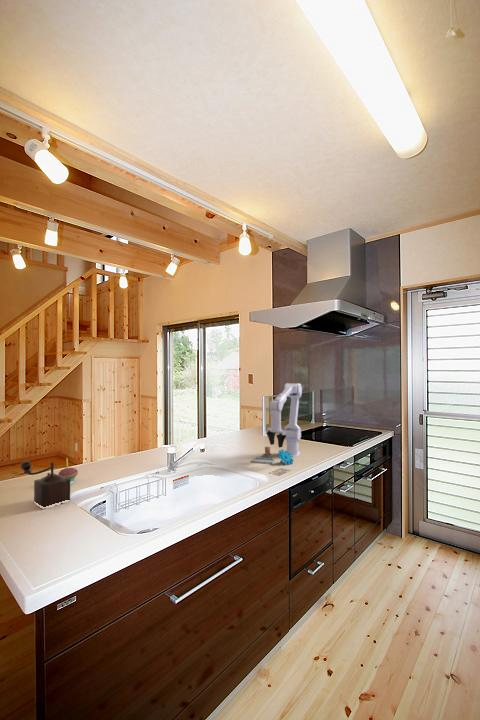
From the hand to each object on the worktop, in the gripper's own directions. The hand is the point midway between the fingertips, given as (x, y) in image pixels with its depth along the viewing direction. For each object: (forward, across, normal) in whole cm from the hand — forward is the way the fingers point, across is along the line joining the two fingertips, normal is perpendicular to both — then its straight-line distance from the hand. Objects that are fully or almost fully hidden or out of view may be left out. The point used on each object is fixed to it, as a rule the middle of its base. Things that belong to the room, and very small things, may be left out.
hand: (276, 445), depth 195 cm
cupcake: (+9, -29, -104) cm, 108 cm away
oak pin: (+9, -11, +2) cm, 15 cm away
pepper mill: (+9, -6, -114) cm, 115 cm away
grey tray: (+10, -6, -5) cm, 12 cm away
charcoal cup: (+10, -11, +2) cm, 15 cm away
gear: (+10, +4, +4) cm, 11 cm away
